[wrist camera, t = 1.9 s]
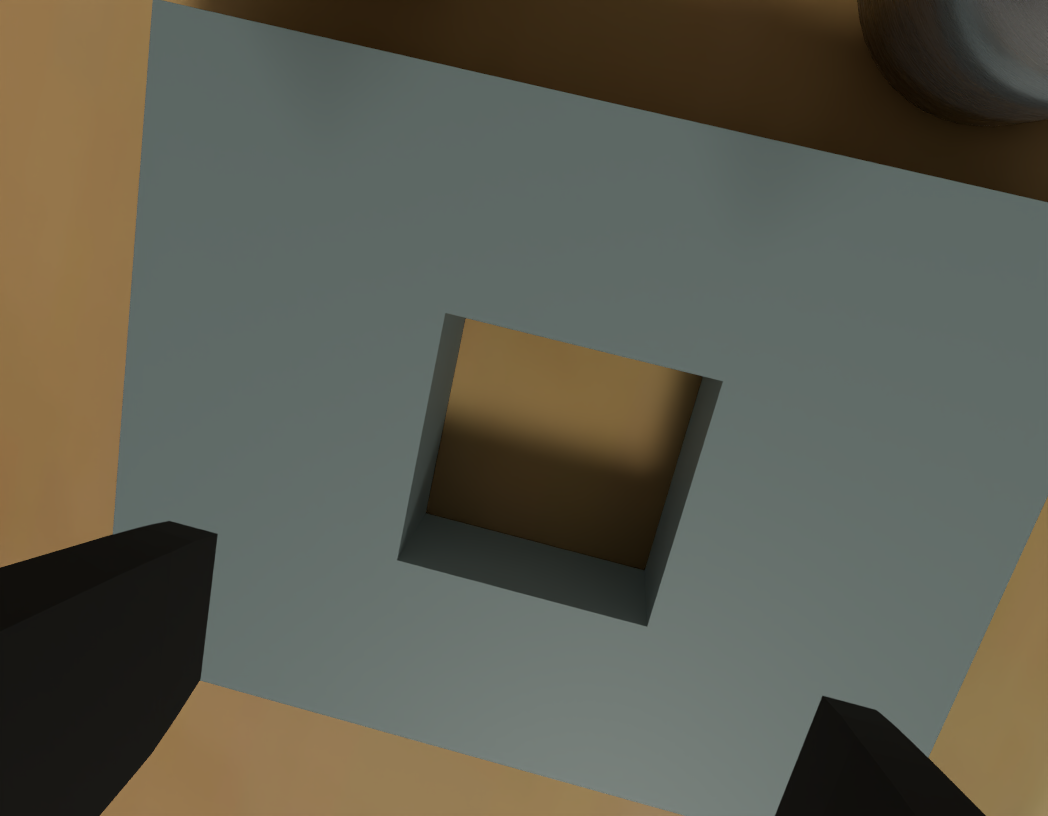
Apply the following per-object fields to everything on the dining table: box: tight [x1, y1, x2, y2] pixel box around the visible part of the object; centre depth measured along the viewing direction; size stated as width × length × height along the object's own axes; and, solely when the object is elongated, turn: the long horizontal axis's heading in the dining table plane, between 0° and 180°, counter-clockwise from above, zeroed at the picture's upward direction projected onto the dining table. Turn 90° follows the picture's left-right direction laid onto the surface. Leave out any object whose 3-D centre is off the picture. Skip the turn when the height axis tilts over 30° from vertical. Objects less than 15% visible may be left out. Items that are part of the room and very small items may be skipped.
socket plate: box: [113, 0, 1048, 816], centre depth 17 cm, size 18×14×2 cm
